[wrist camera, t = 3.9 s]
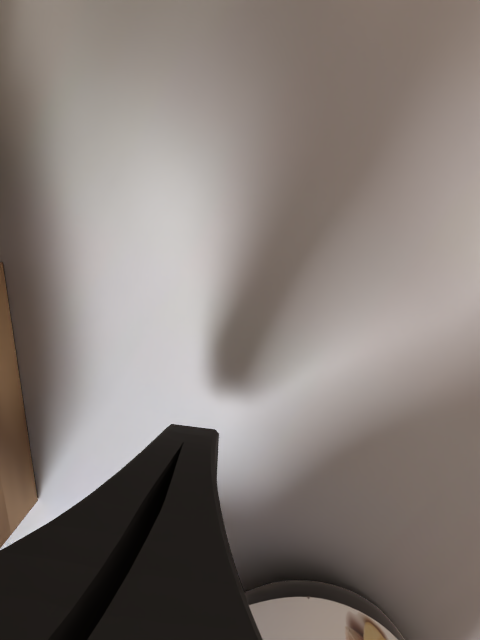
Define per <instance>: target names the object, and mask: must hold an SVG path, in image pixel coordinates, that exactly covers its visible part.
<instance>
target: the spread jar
mask: <svg viewBox="0 0 480 640" xmlns="http://www.w3.org/2000/svg"><path fill="white" fill-rule="evenodd" d="M244 593H245V596H246V599H247V602H248V604H249V607H250V610H251V613H252V615H253V617H254V620H255V622H256V625H257V627H258V630H259V632H260V634H261V637H262V639H263V640H404V638H403V636H402V635H401V633H400V632H399V630H398V629H397V628H396V626H395V625H394V624H393V623H392V621H391V620H390V619H389V618H388V617H387V616H386V615H385V614H384V613H383V612H382V611H381V610H380V609H379V608H378V607H377V606H375V605H374V604H373V603H372V602H370V601H369V600H367V599H366V598H364V597H362V596H361V595H359V594H357V593H355V592H353V591H350V590H348V589H345V588H342V587H339V586H336V585H332V584H328V583H323V582H317V581H308V580H287V581H279V582H273V583H269V584H265V585H262V586H259V587H256V588H254V589H251V590H248V591H246V592H244Z"/></svg>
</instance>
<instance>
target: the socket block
mask: <svg viewBox="0 0 480 640" xmlns="http://www.w3.org/2000/svg"><path fill="white" fill-rule="evenodd" d="M37 501H38V499H37V492H36V485H35V479H34V472H33V465H32V458H31V452H30V445H29V438H28V431H27V425H26V418H25V411H24V404H23V397H22V391H21V384H20V377H19V370H18V364H17V357H16V350H15V343H14V337H13V330H12V323H11V316H10V309H9V303H8V296H7V289H6V282H5V276H4V269H3V263H2V262H0V548H1V547H2V545H3V544H4V543H5V542H6V540H7V539H8V538H9V537H10V535H11V534H12V533H13V531H14V530H15V529H16V528H17V526H18V525H19V524H20V523H21V521H22V520H23V519H24V517H25V516H26V515H27V514H28V512H29V511H30V510H31V508H32V507H33V506H34V505H35V503H36V502H37Z"/></svg>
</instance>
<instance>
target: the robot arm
mask: <svg viewBox="0 0 480 640" xmlns="http://www.w3.org/2000/svg"><path fill="white" fill-rule="evenodd" d="M218 441H219V433H218V432H217V431H216V430H214V429H206V428H198V427H190V426H182V425H174V424H171V425H170V426H168V427H167V428H166V429H165V430H164V431H163V432H162V433H161V434H160V435H159V436H158V437H157V438H156V439H155V440H153V441H152V442H151V443H150V444H149V445H148V446H147V447H146V448H145V449H144V450H143V451H142V452H141V453H139V454H138V455H137V456H136V457H135V458H134V459H133V460H131V461H130V462H129V463H128V464H127V465H126V466H125V467H123V468H122V469H121V470H120V471H119V472H118V473H116V474H115V475H114V476H113V477H111V478H110V479H109V480H108V481H106V482H105V483H104V484H103V485H101V486H100V487H99V488H97V489H96V490H95V491H94V492H92V493H91V494H90V495H88V496H87V497H86V498H84V499H83V500H82V501H80V502H79V503H77V504H76V505H75V506H73V507H72V508H70V509H69V510H67V511H66V512H64V513H63V514H61V515H60V516H58V517H57V518H55V519H54V520H52V521H51V522H49V523H47V524H46V525H44V526H42V527H41V528H39V529H37V530H35V531H34V532H32V533H30V534H28V535H27V536H25V537H23V538H22V539H20V540H18V541H16V542H15V543H13V544H11V545H9V546H8V547H6V548H4V549H2V550H0V640H263V639H262V637H261V634H260V632H259V630H258V627H257V625H256V622H255V620H254V617H253V615H252V613H251V610H250V607H249V604H248V602H247V599H246V596H245V593H244V590H243V588H242V585H241V582H240V579H239V576H238V573H237V570H236V567H235V564H234V561H233V557H232V554H231V550H230V547H229V543H228V539H227V535H226V531H225V527H224V523H223V518H222V513H221V508H220V502H219V496H218V490H217V461H218Z"/></svg>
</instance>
